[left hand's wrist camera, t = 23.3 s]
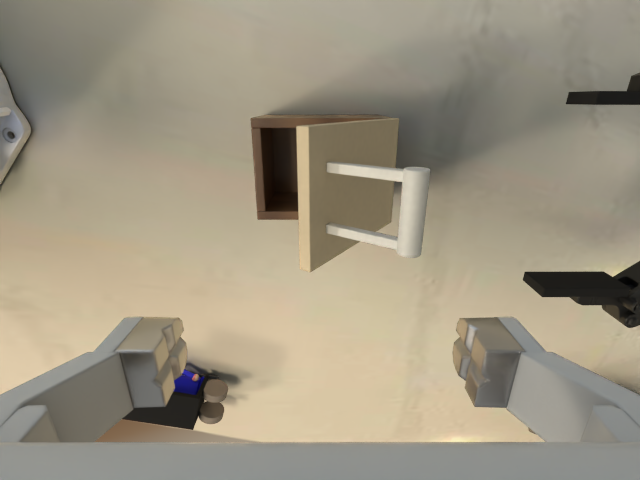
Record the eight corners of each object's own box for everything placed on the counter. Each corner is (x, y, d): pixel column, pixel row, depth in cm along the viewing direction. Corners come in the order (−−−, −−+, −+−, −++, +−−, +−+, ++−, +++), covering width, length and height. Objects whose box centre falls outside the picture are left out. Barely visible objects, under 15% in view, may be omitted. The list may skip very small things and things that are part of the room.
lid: (299, 269, 26) (402, 302, 22) (295, 125, 22) (419, 131, 18) (382, 220, 37) (462, 236, 32) (389, 118, 33) (481, 120, 29)
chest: (269, 197, 45) (257, 219, 37) (265, 114, 42) (250, 118, 33) (373, 197, 45) (386, 219, 37) (378, 114, 42) (393, 117, 33)
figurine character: (233, 362, 57) (134, 350, 54) (226, 400, 50) (113, 389, 47) (226, 393, 59) (131, 383, 56) (219, 433, 52) (111, 425, 49)
